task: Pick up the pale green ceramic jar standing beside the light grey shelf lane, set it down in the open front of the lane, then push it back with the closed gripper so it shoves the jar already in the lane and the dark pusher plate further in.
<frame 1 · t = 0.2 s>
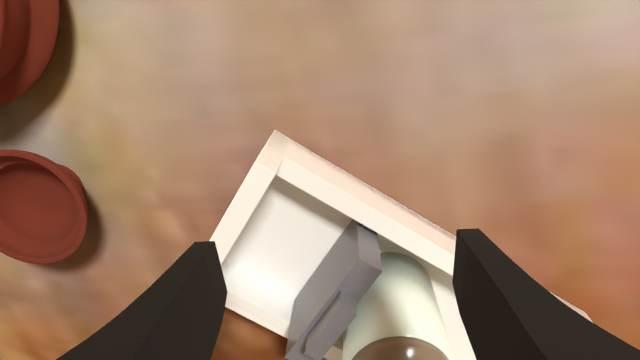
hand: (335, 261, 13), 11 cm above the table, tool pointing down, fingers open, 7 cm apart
pusher: (332, 294, 21), point 4 cm above the table, slide at 0.0 cm
stocked jar: (387, 289, 25), point 1 cm above the table, touching lane
lane: (392, 284, 26), on the table
pottery: (7, 67, 23), on the table
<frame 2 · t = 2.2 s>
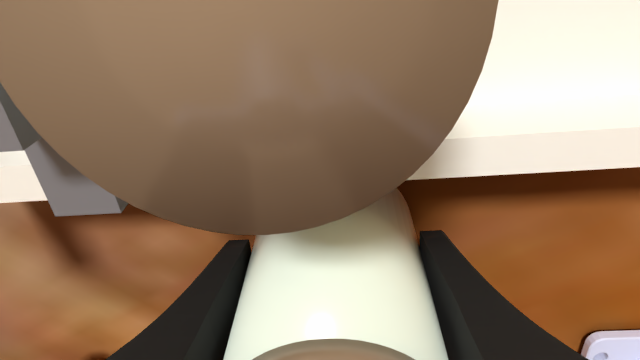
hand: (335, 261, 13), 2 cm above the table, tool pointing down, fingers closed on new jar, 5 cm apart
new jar: (335, 229, 14), on the table, touching gripper
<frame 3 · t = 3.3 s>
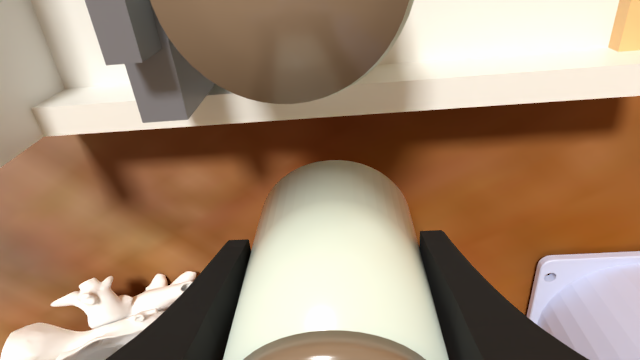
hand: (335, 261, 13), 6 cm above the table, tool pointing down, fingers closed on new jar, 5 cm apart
white irregular branching piece: (178, 333, 24), on the table
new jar: (335, 226, 15), point 4 cm above the table, touching gripper
when the fingers open (4 cm above the table, at t = 6.3 s): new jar stays where it is, resting on lane.
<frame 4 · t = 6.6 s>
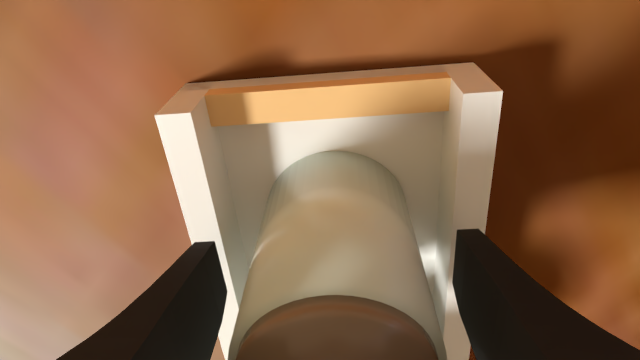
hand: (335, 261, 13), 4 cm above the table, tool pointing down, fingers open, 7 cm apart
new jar: (336, 213, 16), point 1 cm above the table, touching lane
lane: (344, 309, 19), on the table
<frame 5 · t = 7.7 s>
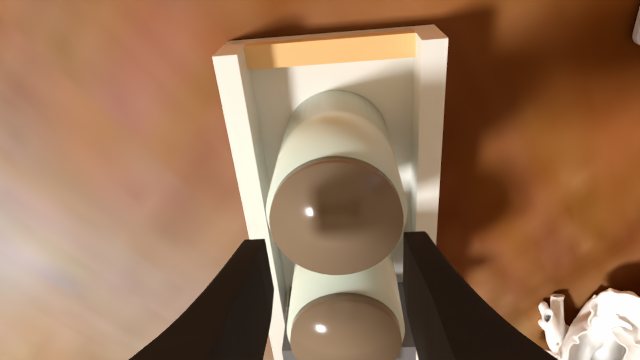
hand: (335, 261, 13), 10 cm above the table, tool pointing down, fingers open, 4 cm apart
pusher: (348, 330, 23), point 4 cm above the table, slide at 0.0 cm
stocked jar: (343, 239, 24), point 1 cm above the table, touching lane
white irregular branching piece: (610, 316, 28), on the table
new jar: (336, 140, 21), point 1 cm above the table, touching lane
lane: (342, 225, 25), on the table
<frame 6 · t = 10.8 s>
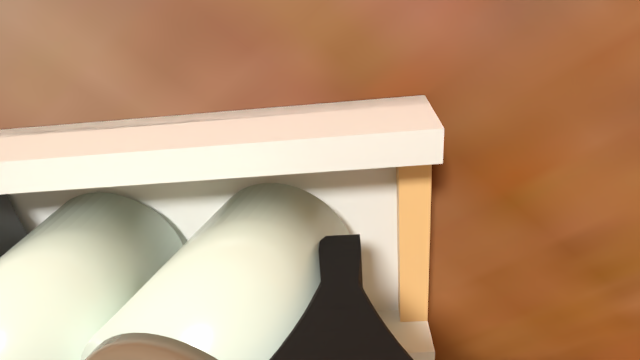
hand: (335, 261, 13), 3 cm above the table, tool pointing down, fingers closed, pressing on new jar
stocked jar: (119, 252, 16), point 1 cm above the table, touching lane
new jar: (283, 249, 15), point 1 cm above the table, tilted 14°, touching gripper, lane
lane: (141, 235, 16), on the table
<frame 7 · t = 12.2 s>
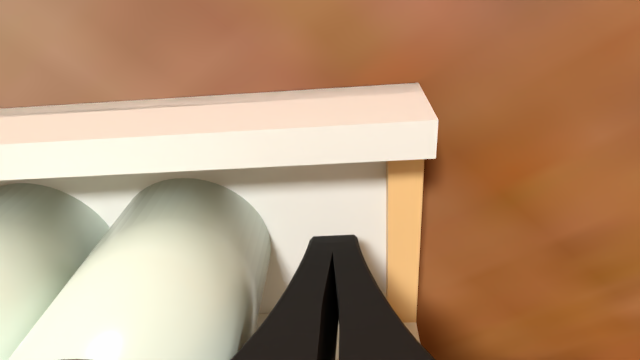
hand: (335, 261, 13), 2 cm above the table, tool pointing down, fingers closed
stocked jar: (47, 246, 15), point 1 cm above the table, touching lane
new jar: (196, 243, 15), point 1 cm above the table, touching gripper, lane
lane: (114, 228, 15), on the table
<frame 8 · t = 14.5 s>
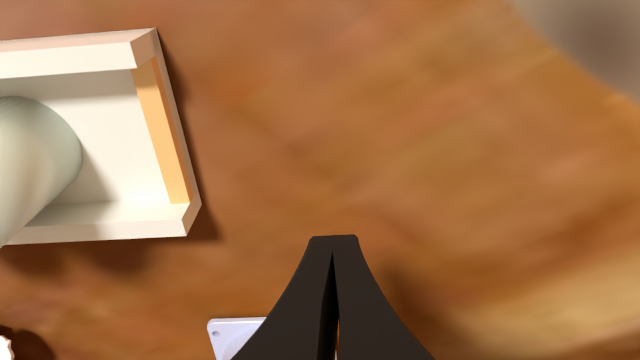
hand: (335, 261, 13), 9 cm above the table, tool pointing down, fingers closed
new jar: (30, 145, 21), point 1 cm above the table, touching lane
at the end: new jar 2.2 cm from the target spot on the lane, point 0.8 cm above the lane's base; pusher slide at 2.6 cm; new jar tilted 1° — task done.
